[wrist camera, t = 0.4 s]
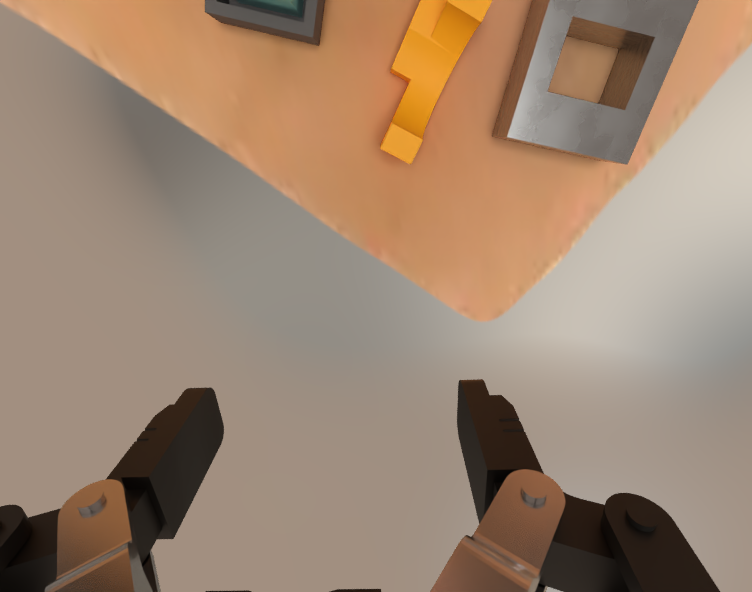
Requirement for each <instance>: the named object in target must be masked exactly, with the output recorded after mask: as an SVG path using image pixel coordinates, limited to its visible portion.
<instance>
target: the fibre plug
mask: <svg viewBox="0 0 752 592" xmlns="http://www.w3.org/2000/svg"><path fill="white" fill-rule="evenodd" d="M236 1H237V2H238V3H242V4H246V5H250V6H255V7H259V8H263V9H267V10H271V11H275V12H279V13H284V14H288V15H292V16H296V17H300V18H302V12H303V3H304V0H236Z"/></svg>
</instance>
